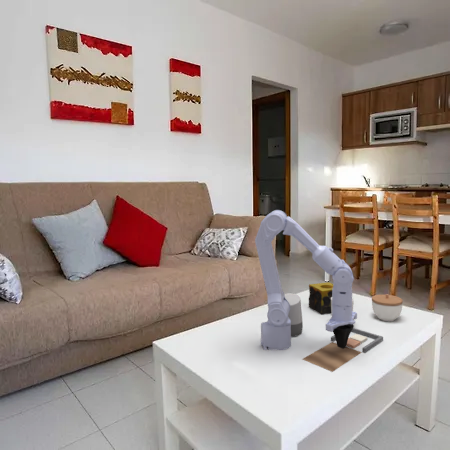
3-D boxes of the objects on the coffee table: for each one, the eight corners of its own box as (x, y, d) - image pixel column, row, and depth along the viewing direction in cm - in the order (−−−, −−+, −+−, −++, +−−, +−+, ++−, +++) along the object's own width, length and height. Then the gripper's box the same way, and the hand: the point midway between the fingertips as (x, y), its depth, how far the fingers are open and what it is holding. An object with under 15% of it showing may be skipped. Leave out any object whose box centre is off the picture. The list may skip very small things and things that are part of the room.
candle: (307, 307, 152) (307, 284, 151) (328, 304, 155) (328, 281, 154) (321, 315, 143) (321, 290, 142) (343, 312, 146) (343, 288, 145)
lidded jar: (406, 324, 131) (406, 299, 130) (375, 323, 133) (375, 298, 132) (397, 313, 142) (397, 290, 141) (368, 312, 144) (368, 290, 143)
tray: (364, 357, 108) (364, 348, 107) (330, 345, 116) (330, 337, 116) (383, 345, 115) (383, 336, 115) (349, 334, 124) (349, 326, 124)
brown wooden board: (332, 377, 98) (332, 371, 97) (302, 363, 105) (302, 359, 105) (361, 357, 108) (361, 352, 108) (332, 346, 116) (332, 342, 115)
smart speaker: (269, 335, 125) (269, 296, 123) (285, 327, 131) (284, 290, 130) (292, 343, 118) (292, 302, 117) (307, 335, 125) (307, 295, 123)
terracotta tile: (353, 352, 111) (353, 345, 110) (341, 347, 114) (341, 341, 113) (360, 347, 113) (360, 341, 113) (348, 343, 116) (348, 338, 116)
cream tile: (361, 347, 114) (361, 341, 113) (349, 343, 117) (349, 337, 116) (367, 343, 116) (367, 337, 116) (355, 339, 119) (355, 333, 119)
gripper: (341, 313, 100) (340, 359, 102) (366, 301, 110) (365, 343, 112) (319, 307, 106) (319, 351, 107) (345, 296, 115) (345, 336, 117)
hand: (341, 347), depth 110 cm, fingers closed
